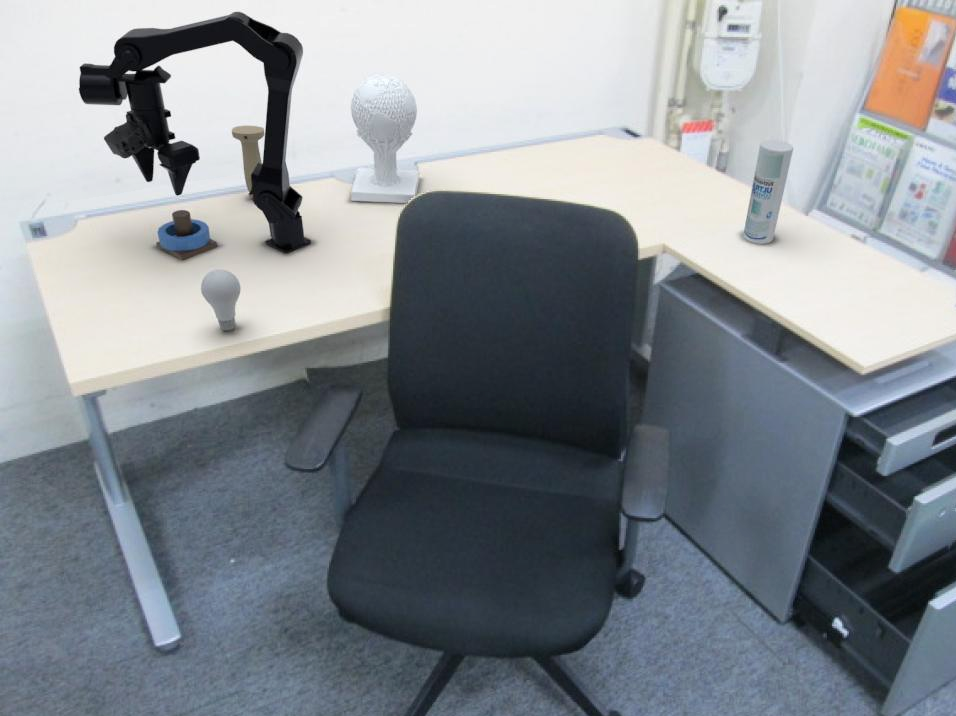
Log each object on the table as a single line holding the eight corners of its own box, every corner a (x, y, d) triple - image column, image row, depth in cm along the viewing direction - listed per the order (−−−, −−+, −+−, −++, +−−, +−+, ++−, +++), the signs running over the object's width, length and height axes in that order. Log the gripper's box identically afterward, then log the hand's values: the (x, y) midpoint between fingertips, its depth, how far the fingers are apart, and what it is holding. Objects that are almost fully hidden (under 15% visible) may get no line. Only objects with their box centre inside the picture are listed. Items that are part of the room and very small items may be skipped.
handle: (270, 202, 196) (260, 134, 187) (239, 201, 195) (229, 133, 187) (274, 194, 200) (266, 126, 191) (245, 193, 199) (234, 125, 191)
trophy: (420, 179, 210) (418, 68, 196) (416, 203, 199) (413, 88, 184) (358, 176, 209) (351, 65, 195) (351, 201, 198) (343, 85, 183)
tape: (220, 239, 179) (218, 227, 177) (181, 255, 172) (179, 244, 171) (188, 226, 183) (186, 215, 181) (150, 242, 176) (147, 230, 175)
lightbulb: (213, 320, 156) (202, 262, 149) (250, 320, 156) (240, 262, 150) (205, 339, 151) (194, 280, 144) (243, 339, 151) (233, 280, 145)
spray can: (779, 238, 193) (799, 146, 182) (763, 247, 189) (782, 153, 178) (753, 228, 197) (771, 137, 185) (736, 236, 193) (754, 144, 181)
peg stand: (217, 246, 178) (211, 213, 174) (182, 260, 173) (175, 226, 169) (192, 234, 182) (186, 201, 178) (157, 247, 177) (149, 213, 173)
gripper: (76, 103, 163) (96, 186, 172) (137, 129, 154) (155, 215, 163) (132, 90, 170) (149, 170, 179) (194, 114, 161) (208, 197, 171)
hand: (163, 188), depth 173 cm, fingers open, 9 cm apart
